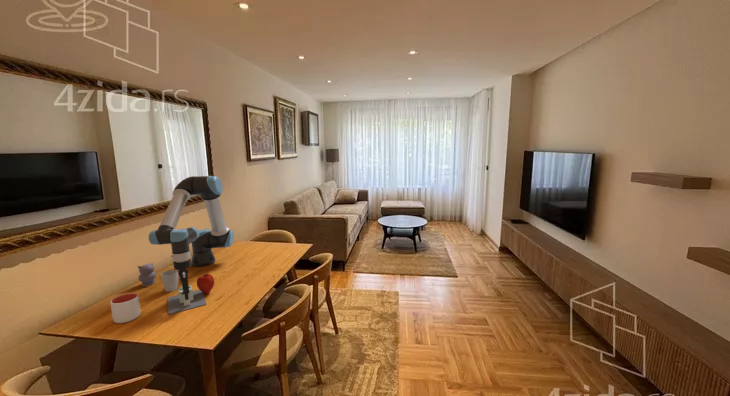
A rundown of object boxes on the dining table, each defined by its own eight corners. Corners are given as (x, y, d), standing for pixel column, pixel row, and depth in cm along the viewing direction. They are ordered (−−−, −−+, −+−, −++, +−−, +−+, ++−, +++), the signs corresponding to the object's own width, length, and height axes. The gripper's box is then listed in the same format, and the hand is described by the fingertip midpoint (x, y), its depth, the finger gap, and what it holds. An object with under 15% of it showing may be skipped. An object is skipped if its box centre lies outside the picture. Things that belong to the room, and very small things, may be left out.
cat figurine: (141, 288, 167) (138, 268, 166) (138, 284, 173) (135, 265, 171) (158, 283, 174) (156, 264, 172) (155, 279, 179) (153, 261, 177)
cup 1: (123, 313, 141) (120, 293, 140) (145, 312, 142) (143, 292, 141) (107, 325, 132) (104, 304, 130) (131, 323, 132) (128, 303, 131)
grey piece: (167, 298, 156) (166, 288, 155) (201, 289, 165) (200, 280, 164) (168, 314, 139) (167, 304, 138) (206, 304, 148) (205, 294, 147)
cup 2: (183, 287, 168) (181, 270, 167) (169, 293, 160) (167, 276, 159) (172, 285, 171) (171, 269, 169) (159, 291, 163) (157, 274, 162)
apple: (199, 291, 163) (197, 272, 161) (216, 288, 166) (214, 270, 164) (196, 298, 155) (194, 278, 154) (214, 295, 158) (212, 276, 157)
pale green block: (179, 299, 152) (177, 287, 151) (192, 295, 156) (191, 283, 155) (179, 303, 148) (178, 291, 147) (193, 300, 151) (192, 288, 150)
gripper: (171, 255, 156) (176, 293, 159) (174, 269, 137) (179, 312, 140) (188, 252, 160) (192, 289, 164) (192, 265, 141) (197, 307, 144)
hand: (186, 300), depth 152 cm, fingers closed on grey piece, 12 cm apart
